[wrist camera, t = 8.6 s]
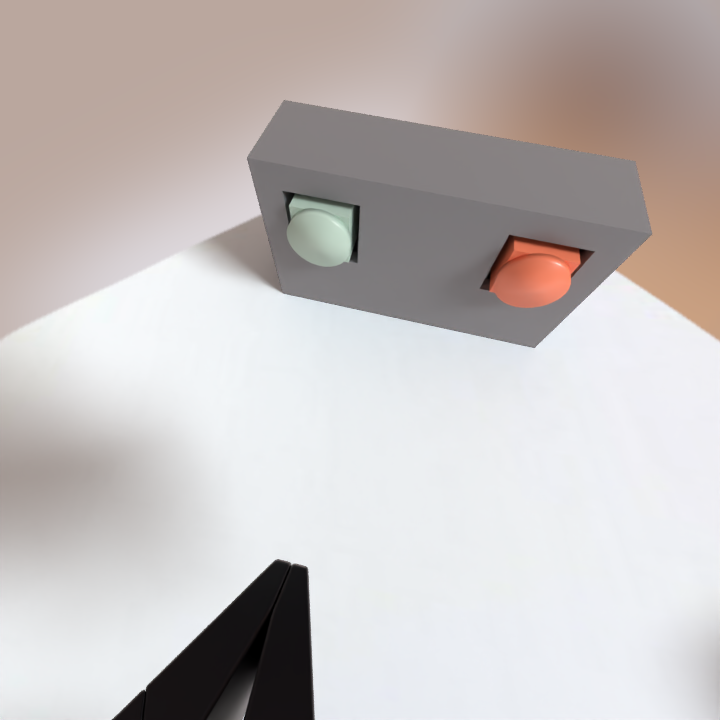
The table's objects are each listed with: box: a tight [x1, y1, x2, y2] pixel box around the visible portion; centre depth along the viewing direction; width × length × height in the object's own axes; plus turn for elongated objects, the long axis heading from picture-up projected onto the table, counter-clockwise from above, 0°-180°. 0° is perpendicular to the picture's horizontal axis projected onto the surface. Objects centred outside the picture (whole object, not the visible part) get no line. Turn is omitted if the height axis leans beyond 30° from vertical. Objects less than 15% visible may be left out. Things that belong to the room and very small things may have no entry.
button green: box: [287, 193, 360, 267], centre depth 22 cm, size 5×4×4 cm
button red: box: [489, 235, 581, 308], centre depth 21 cm, size 5×4×4 cm
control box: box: [247, 100, 652, 348], centre depth 24 cm, size 6×21×12 cm, turn 77°
